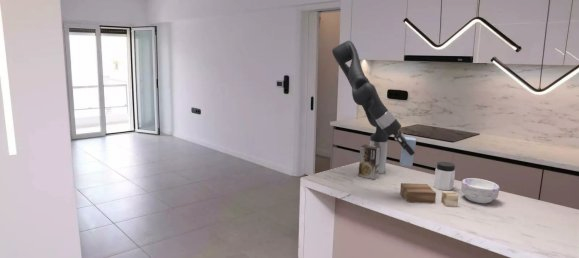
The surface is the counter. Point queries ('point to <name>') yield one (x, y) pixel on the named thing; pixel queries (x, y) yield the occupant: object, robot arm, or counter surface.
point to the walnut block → (417, 193)
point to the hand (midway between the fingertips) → (412, 152)
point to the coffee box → (369, 161)
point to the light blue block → (406, 157)
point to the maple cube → (449, 198)
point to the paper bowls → (479, 190)
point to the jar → (444, 176)
